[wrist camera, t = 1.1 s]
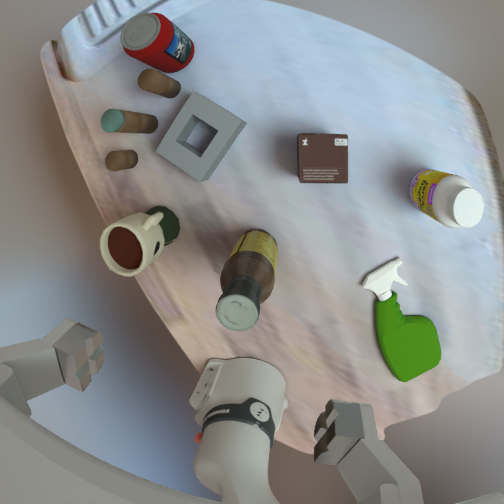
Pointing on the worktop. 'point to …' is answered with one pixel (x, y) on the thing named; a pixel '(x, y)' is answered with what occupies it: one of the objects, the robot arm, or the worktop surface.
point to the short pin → (121, 160)
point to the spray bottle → (401, 328)
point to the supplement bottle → (446, 198)
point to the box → (322, 158)
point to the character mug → (138, 240)
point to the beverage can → (157, 42)
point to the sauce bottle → (247, 280)
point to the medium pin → (158, 83)
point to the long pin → (128, 122)
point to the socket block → (182, 127)
